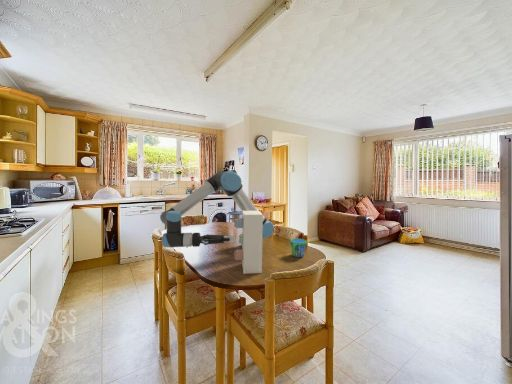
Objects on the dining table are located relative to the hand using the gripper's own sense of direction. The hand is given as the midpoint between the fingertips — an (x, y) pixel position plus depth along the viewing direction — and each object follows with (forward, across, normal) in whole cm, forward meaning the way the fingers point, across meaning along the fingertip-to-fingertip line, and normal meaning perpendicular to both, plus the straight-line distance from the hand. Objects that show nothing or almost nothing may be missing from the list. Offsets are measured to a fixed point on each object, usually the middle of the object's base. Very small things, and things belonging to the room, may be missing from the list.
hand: (235, 238), depth 126 cm
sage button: (+4, 0, -2) cm, 5 cm away
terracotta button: (+2, 0, -11) cm, 12 cm away
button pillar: (+9, 0, -17) cm, 20 cm away
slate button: (+2, 0, +7) cm, 7 cm away
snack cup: (+42, -17, -17) cm, 49 cm away
